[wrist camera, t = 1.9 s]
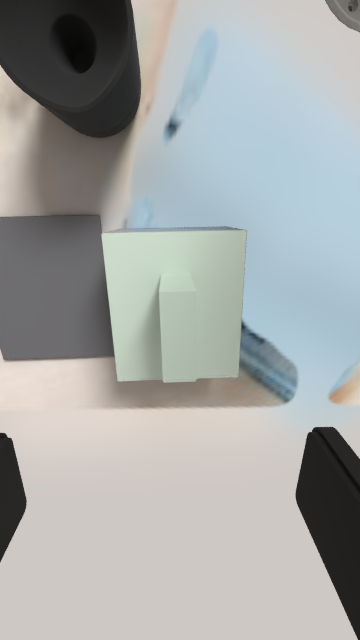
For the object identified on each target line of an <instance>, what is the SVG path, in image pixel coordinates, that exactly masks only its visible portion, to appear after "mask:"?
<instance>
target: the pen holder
mask: <svg viewBox="0 0 360 640" xmlns="http://www.w3.org/2000/svg"><path fill="white" fill-rule="evenodd" d="M0 65H1V67H2V68H3V69H4V71H5V72H6V74H7V75H8V76H9V77H10V78H11V79H12V81H13V82H14V83H15V84H16V85H17V86H18V87H19V88H21V89H22V90H23V91H24V92H25V93H26V94H28V95H29V96H30V97H32V98H33V99H34V100H36V101H37V102H38V103H40V104H41V105H42V106H44V107H45V108H46V109H48V110H49V111H50V112H52V113H53V114H54V115H56V116H57V117H58V118H60V119H61V120H62V121H64V122H65V123H66V124H68V125H69V126H71V127H72V128H73V129H75V130H77V131H78V132H80V133H82V134H85V135H87V136H91V137H98V138H101V137H109V136H112V135H115V134H117V133H119V132H120V131H122V130H123V129H124V128H125V127H126V126H127V125H128V124H129V123H130V122H131V120H132V119H133V117H134V115H135V113H136V111H137V108H138V105H139V101H140V95H141V78H140V66H139V57H138V49H137V41H136V33H135V25H134V17H133V9H132V4H131V0H0Z"/></svg>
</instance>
